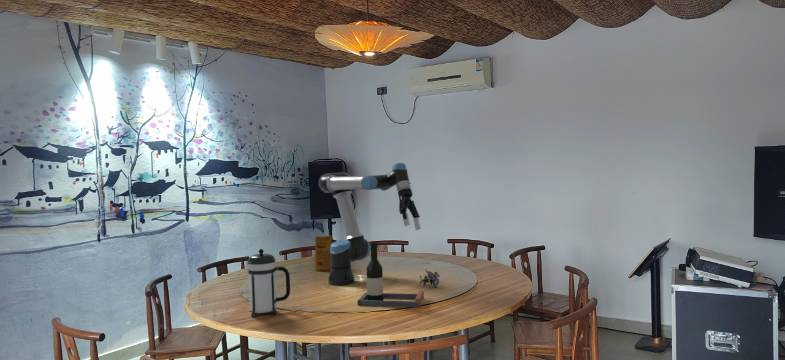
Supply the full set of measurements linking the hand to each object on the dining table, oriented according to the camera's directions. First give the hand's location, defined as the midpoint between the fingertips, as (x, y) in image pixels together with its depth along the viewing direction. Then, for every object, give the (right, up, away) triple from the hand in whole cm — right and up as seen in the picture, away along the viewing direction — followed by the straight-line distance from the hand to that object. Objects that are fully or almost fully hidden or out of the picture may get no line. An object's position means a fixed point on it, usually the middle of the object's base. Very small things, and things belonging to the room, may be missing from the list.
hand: (412, 227), depth 279 cm
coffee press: (-70, -37, -31) cm, 85 cm away
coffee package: (-55, -33, +63) cm, 90 cm away
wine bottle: (-19, -35, -18) cm, 44 cm away
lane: (-11, -35, -20) cm, 41 cm away
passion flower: (+9, -33, +8) cm, 36 cm away
